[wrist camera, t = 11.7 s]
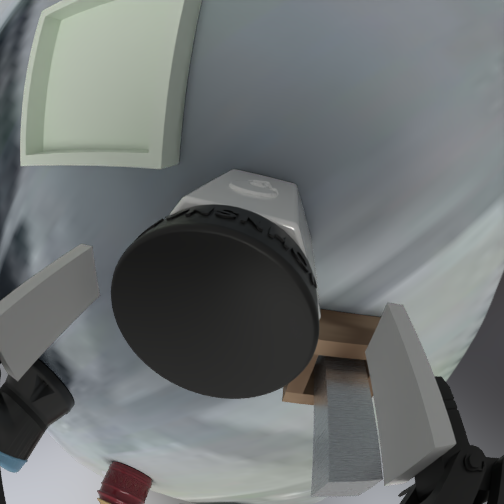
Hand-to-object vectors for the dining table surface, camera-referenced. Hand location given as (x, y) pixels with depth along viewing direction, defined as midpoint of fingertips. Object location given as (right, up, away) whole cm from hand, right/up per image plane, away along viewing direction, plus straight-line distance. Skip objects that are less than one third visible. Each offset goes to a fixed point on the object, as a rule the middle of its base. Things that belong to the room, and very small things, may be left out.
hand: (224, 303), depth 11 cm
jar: (+1, +4, +10) cm, 10 cm away
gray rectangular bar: (+9, -7, +13) cm, 17 cm away
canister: (-32, -60, +42) cm, 80 cm away
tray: (-11, +17, +6) cm, 21 cm away
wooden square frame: (+9, -7, +13) cm, 17 cm away
